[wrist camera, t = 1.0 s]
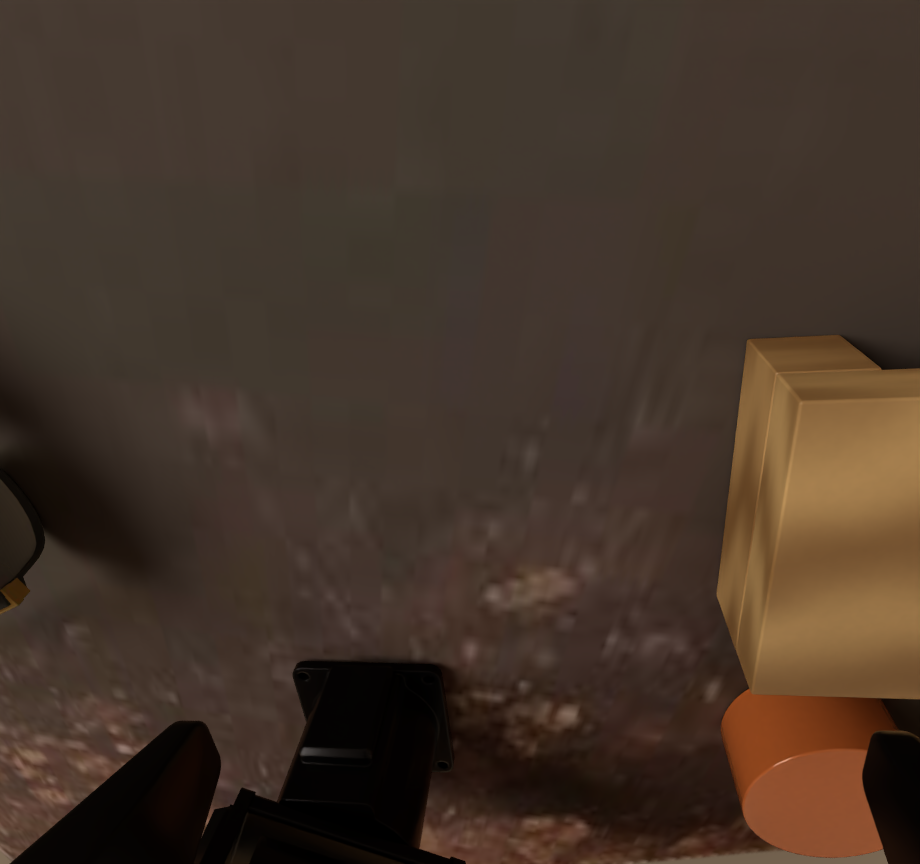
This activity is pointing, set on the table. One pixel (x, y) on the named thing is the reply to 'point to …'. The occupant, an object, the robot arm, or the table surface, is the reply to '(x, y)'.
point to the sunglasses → (16, 542)
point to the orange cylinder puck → (805, 770)
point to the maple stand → (824, 523)
